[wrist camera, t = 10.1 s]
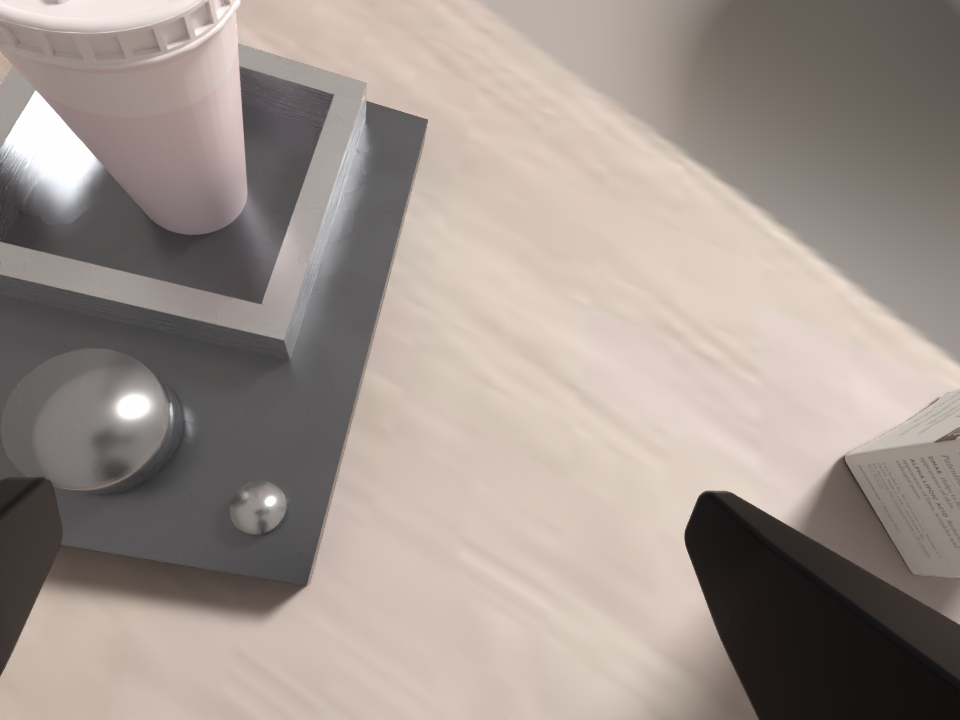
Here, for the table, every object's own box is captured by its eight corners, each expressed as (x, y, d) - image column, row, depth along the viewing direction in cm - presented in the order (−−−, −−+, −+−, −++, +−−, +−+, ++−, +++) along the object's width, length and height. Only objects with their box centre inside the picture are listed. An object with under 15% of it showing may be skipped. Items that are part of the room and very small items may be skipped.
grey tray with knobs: (309, 583, 18) (301, 590, 15) (-164, 503, 16) (-289, 491, 13) (423, 143, 25) (434, 83, 22) (99, 47, 23) (59, -34, 20)
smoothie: (83, 264, 19) (-503, -369, 6) (108, 112, 21) (-286, -611, 8) (281, 271, 20) (165, -220, 7) (288, 129, 22) (205, -455, 9)
